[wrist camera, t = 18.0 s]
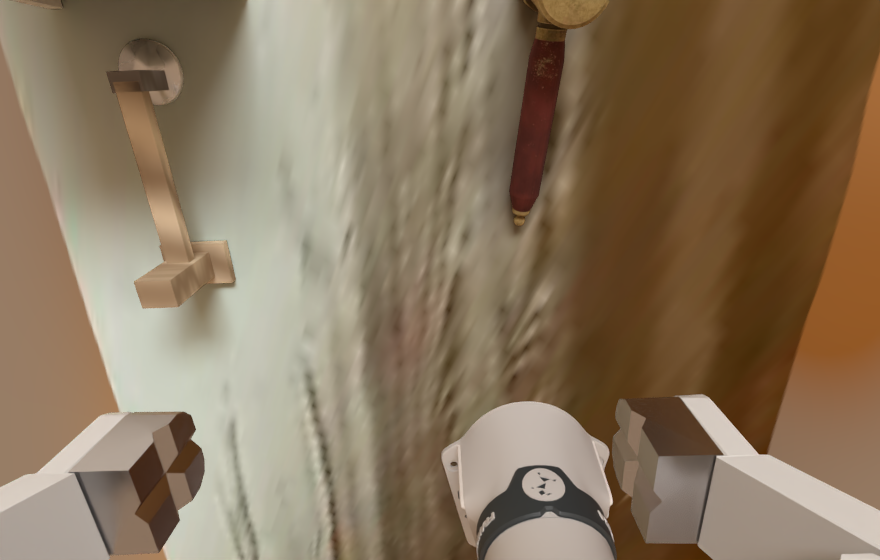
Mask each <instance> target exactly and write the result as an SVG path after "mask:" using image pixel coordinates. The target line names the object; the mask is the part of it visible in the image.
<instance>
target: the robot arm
mask: <svg viewBox="0 0 880 560" xmlns="http://www.w3.org/2000/svg"><path fill="white" fill-rule="evenodd" d="M615 418H616V420H617V422H618V424H619V426H620V428H621V429H620V430H619V431H618V433H617V434H616V435H615V436H614V437H613V448H612V454H613V463H614V469H615V473H616V476H617V479H618V482H619V484H620V486H621V489H622V490H623V491H624V492H626V493H627V494H628V495H630V496H631V497H632V505H631V512H632V514H633V516H634V518H635V520H636V523H637V525H638V527H639V529H640V531H641V534H642V536H643V538H644V540H645V543H698V547H699V548H701V549H702V550H703V551H704V552H705V553H706V554H707V555H709V556H710V557H711V558H712V559H713V560H880V511H879V510H877V509H875V508H873V507H871V506H869V505H867V504H865V503H863V502H861V501H859V500H858V499H856V498H854V497H851V496H850V495H848V494H846V493H843V492H842V491H840V490H838V489H836V488H833V487H832V486H830V485H828V484H825V483H824V482H822V481H820V480H818V479H815V478H814V477H811V476H810V475H808V474H806V473H804V472H802V471H800V470H798V469H796V468H794V467H792V466H790V465H788V464H786V463H784V462H782V461H780V460H778V459H776V458H774V457H772V456H770V455H759V454H758V453H757V452H756V451H755V449H754V448H753V447H752V446H751V445H750V444H749V443H748V442H747V440H746V439H745V438H744V437H743V436H742V435H741V434H740V432H739V431H738V430H737V429H736V428H735V427H734V426H733V424H732V423H731V422H730V421H729V420H728V419H727V418H726V416H725V415H724V414H723V413H722V412H721V411H720V410H719V409H718V407H717V406H716V405H715V404H714V403H713V402H712V401H711V399H710V398H709V397H707V396H705V395H703V394H699V395H683V396H674V397H657V398H632V399H619V402H618V404H617V408H616V416H615ZM195 430H196V428H195V426H194V423H193V420H192V417H191V415H189V414H187V413H185V412H134V413H131V412H123V413H108V414H104V415H101V416H99V417H98V418H97V419H96V420H95V421H94V422H92V423H91V424H90V425H89V426H88V427H87V428H86V429H85V430H84V431H83V432H82V433H80V434H79V435H78V436H77V437H76V438H75V439H74V440H73V441H71V442H70V443H69V444H68V445H67V446H66V447H65V448H64V449H63V450H62V451H60V453H58V454H57V455H56V456H55V457H54V458H53V459H52V460H51V461H49V462H48V463H47V464H46V465H45V466H44V467H43V468H42V469H41V470H39V472H37V473H36V474H27V475H24V476H22V477H21V478H18V479H16V480H14V481H12V482H10V483H8V484H6V485H4V486H2V487H0V560H108V559H110V555H128V554H149V553H159V552H160V550H161V549H162V547H163V546H164V544H165V543H166V541H167V540H168V538H169V536H170V535H171V533H172V532H173V530H174V529H175V527H176V525H177V524H178V522H179V521H180V519H179V514H178V510H179V509H181V508H182V507H183V506H185V505H186V504H188V503H189V502H191V501H192V500H193V499H194V497H195V495H196V494H197V492H198V490H199V489H200V486H201V483H202V479H203V475H204V472H205V470H204V456H203V453H202V449H201V448H200V447H199V446H198V445H197V444H196V443H194V442H193V441H192V440H191V438H192V436H193V434H194V432H195ZM608 457H609V449H608V447H607V446H606V445H605V444H604V443H603V442H601V441H599V440H597V439H596V438H594V437H592V436H590V435H589V434H588V433H587V432H586V431H585V430H584V429H583V428H582V426H581V425H580V424H579V423H578V422H577V421H576V420H575V419H574V418H573V417H572V416H571V415H569V414H568V413H566V412H565V411H563V410H561V409H559V408H557V407H555V406H552V405H549V404H545V403H540V402H515V403H510V404H506V405H503V406H500V407H498V408H495V409H493V410H491V411H490V412H488V413H486V414H485V415H484V416H482V417H481V418H480V419H478V420H477V421H476V422H475V423H474V424H473V425H472V426H471V428H470V429H469V430H468V431H467V433H466V434H465V435H464V436H463V437H462V438H461V439H460V440H458V441H456V442H454V443H453V444H451V445H449V446H448V447H446V448H445V449H444V450H443V451H442V453H441V458H442V462H443V466H444V469H445V472H446V475H447V478H448V482H449V485H450V488H451V491H452V495H453V498H454V501H455V504H456V507H457V511H458V514H459V517H460V520H461V524H462V527H463V530H464V533H465V536H466V539H467V542H468V543H469V544H470V545H472V546H474V547H476V550H477V558H478V560H616V559H617V555H616V549H615V545H614V539H613V535H612V532H611V529H610V526H609V524H608V522H607V520H606V518H608V516H609V507H610V506H611V505H612V504H613V500H612V495H611V492H610V489H609V486H608V483H607V480H606V477H605V474H604V468H605V465H606V462H607V460H608ZM451 462H456V463H457V465H456V466H451V465H450V463H451Z"/></svg>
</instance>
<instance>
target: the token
mask: <svg viewBox="0 0 880 560" xmlns="http://www.w3.org/2000/svg"><path fill="white" fill-rule="evenodd" d="M118 68H119V71H127V70H164V71H165V75H166V79H167V82H168V87H169V90H163V91H149V93H150V96H151V100H152V104H153V105H165V104H169V103H171V102H173V101H174V100H175V99H176V98H177V97H178V96H179V95H180V93H181V91H182V88H183V83H184V75H183V70H182V67H181V65H180V62H179V60H178V59H177V57H176V56H175V54H174V53H173V52H172V51H171V50H170V49H169V48H167V47H166V46H165V45H163V44H161V43H159V42H157V41H153V40H148V39H137V40H133V41H131V42H129V43H128V44H127V45H126V46H125V47H124V48H123V49H122V51H121V53H120V56H119V61H118Z"/></svg>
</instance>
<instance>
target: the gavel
mask: <svg viewBox="0 0 880 560" xmlns="http://www.w3.org/2000/svg"><path fill="white" fill-rule="evenodd" d="M523 1H524V3H525V4H526V5H527V6H529V7H530V8H531V9H533V10H534V11H536V12H539V13H538V19H537V22H539V26H537V28H536V35H535V40H534V43H533V46H532V49H531V53H530V56H529V62H528V69H527V76H526V82H525V89H524V96H523V103H522V109H521V116H520V123H519V129H518V136H517V143H516V150H515V156H514V163H513V170H512V176H511V183H510V190H509V192H510V197H511V202H512V211H513V213H514V214H515V215H516V216H515V217H514V223H515V225H518V226H521V225H523V224H524V222H525V217H524V216H527V215H528V214H529V213H530V209H531V207H532V206H533V204H534V202H535V201H536V199H537V197H538V195H539V190H540V185H541V180H542V175H543V169H544V164H545V159H546V153H547V148H548V143H549V138H550V132H551V127H552V122H553V116H554V111H555V106H556V100H557V95H558V90H559V85H560V79H561V74H562V69H563V63H564V52H565V37H566V32H567V29H576V28H579V27H583V26H585V25H587V24H589V23H591V22H592V21H593V20H595V19H596V18H597V17H598V16H599V15H600V14H601V13H602V12H603V11H604V9H605V8H606V6H607V5H608V3H609V1H610V0H523Z"/></svg>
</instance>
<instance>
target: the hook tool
mask: <svg viewBox="0 0 880 560" xmlns="http://www.w3.org/2000/svg"><path fill="white" fill-rule="evenodd" d="M107 76H108V79H109V82H110V86H111V89H112V92H113V93H116V95H117V98H118V101H119V105H120V108H121V111H122V115H123V118H124V121H125V125H126V128H127V132H128V135H129V138H130V142H131V145H132V148H133V152H134V155H135V158H136V162H137V165H138V168H139V172H140V175H141V178H142V182H143V185H144V188H145V192H146V195H147V198H148V202H149V205H150V208H151V212H152V215H153V218H154V222H155V225H156V228H157V232H158V235H159V238H160V242H161V245H160V249H161V253H162V256H163V259H164V262H163V263H162V264H160V265H159V266H157V267H156V268H154V269H153V270H151V271H150V272H148V273H147V274H145V275H143V276H142V277H140V278H139V279H137V280H136V281H134V284H135V287H136V290H137V293H138V296H139V299H140V302H141V305H142V308H167V307H179V306H180V305H181V304H182V303H184V302H185V301H186V300H187V299H188V298H189V297H191V296H192V295H193V294H194V293H195V292H196V291H198V290H199V289H200V288H201V287H202V286H203V285H205V284H210V283H233V282H234V281H235V280H236V278H235V274H234V270H233V265H232V261H231V257H230V253H229V249H228V245H227V240H225V241H201V242H190V239H189V236H188V232H187V228H186V225H185V221H184V217H183V214H182V210H181V206H180V203H179V199H178V195H177V192H176V188H175V184H174V181H173V177H172V173H171V170H170V166H169V162H168V159H167V155H166V151H165V148H164V144H163V140H162V137H161V133H160V129H159V126H158V122H157V118H156V115H155V111H154V107H153V104H152V100H151V96H150V93H149V91H163V90H169V87H168V82H167V79H166V75H165V71H164V70H127V71H109V72H107Z"/></svg>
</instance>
